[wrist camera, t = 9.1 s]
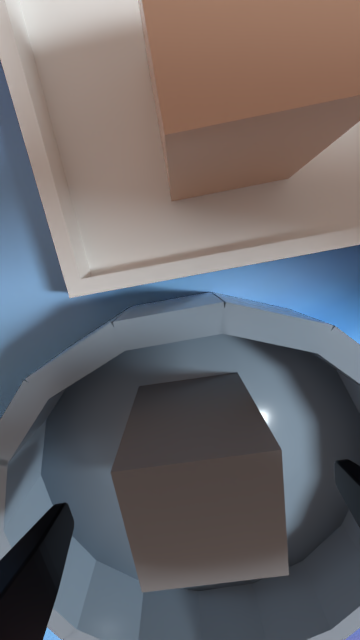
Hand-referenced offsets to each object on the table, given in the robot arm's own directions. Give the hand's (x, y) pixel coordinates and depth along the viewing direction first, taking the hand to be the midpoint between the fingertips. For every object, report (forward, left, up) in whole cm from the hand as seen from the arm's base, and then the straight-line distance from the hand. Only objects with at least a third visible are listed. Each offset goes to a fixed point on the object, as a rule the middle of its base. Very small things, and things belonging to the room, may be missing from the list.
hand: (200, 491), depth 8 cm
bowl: (0, +3, -4) cm, 5 cm away
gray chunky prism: (0, 0, -3) cm, 3 cm away
